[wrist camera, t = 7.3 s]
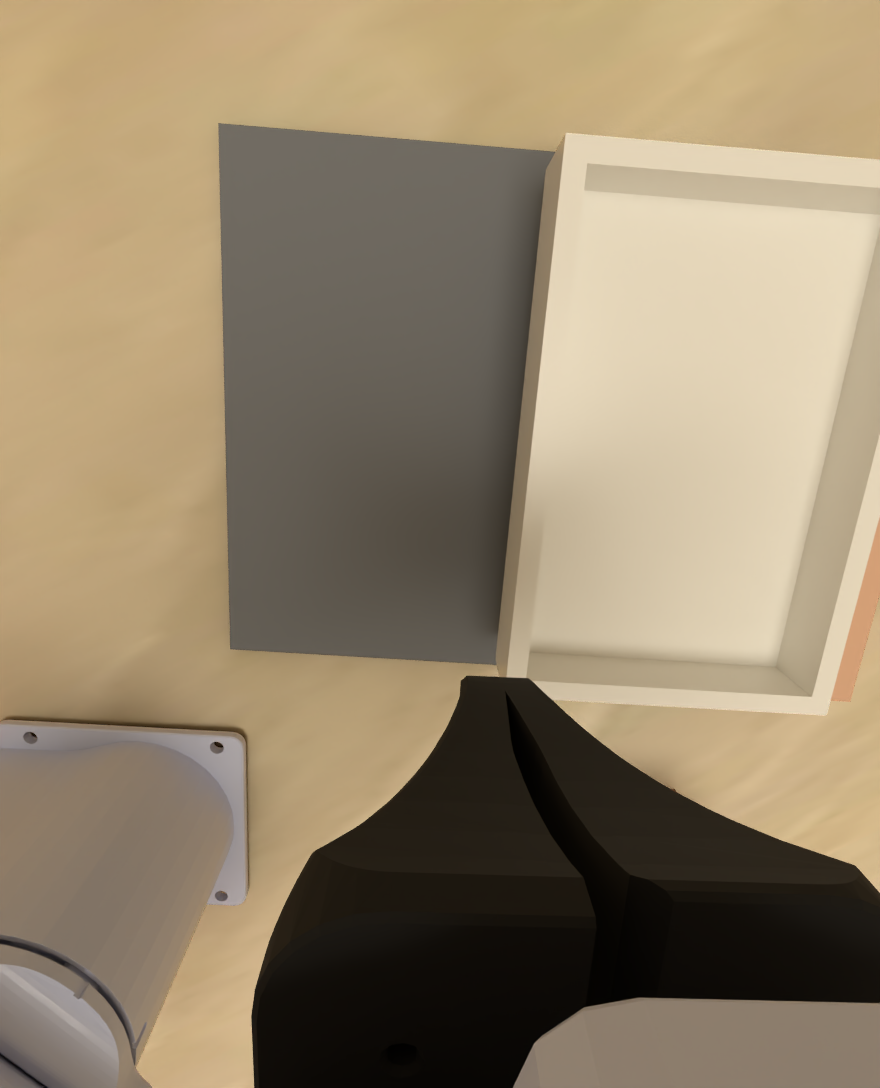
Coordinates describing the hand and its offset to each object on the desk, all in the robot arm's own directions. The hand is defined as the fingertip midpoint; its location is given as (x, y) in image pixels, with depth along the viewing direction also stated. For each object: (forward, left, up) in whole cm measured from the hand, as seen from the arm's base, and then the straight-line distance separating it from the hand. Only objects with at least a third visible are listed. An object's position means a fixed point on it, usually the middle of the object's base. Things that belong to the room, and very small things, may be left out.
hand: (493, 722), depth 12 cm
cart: (+6, +5, -10) cm, 13 cm away
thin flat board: (+2, +5, -10) cm, 12 cm away
